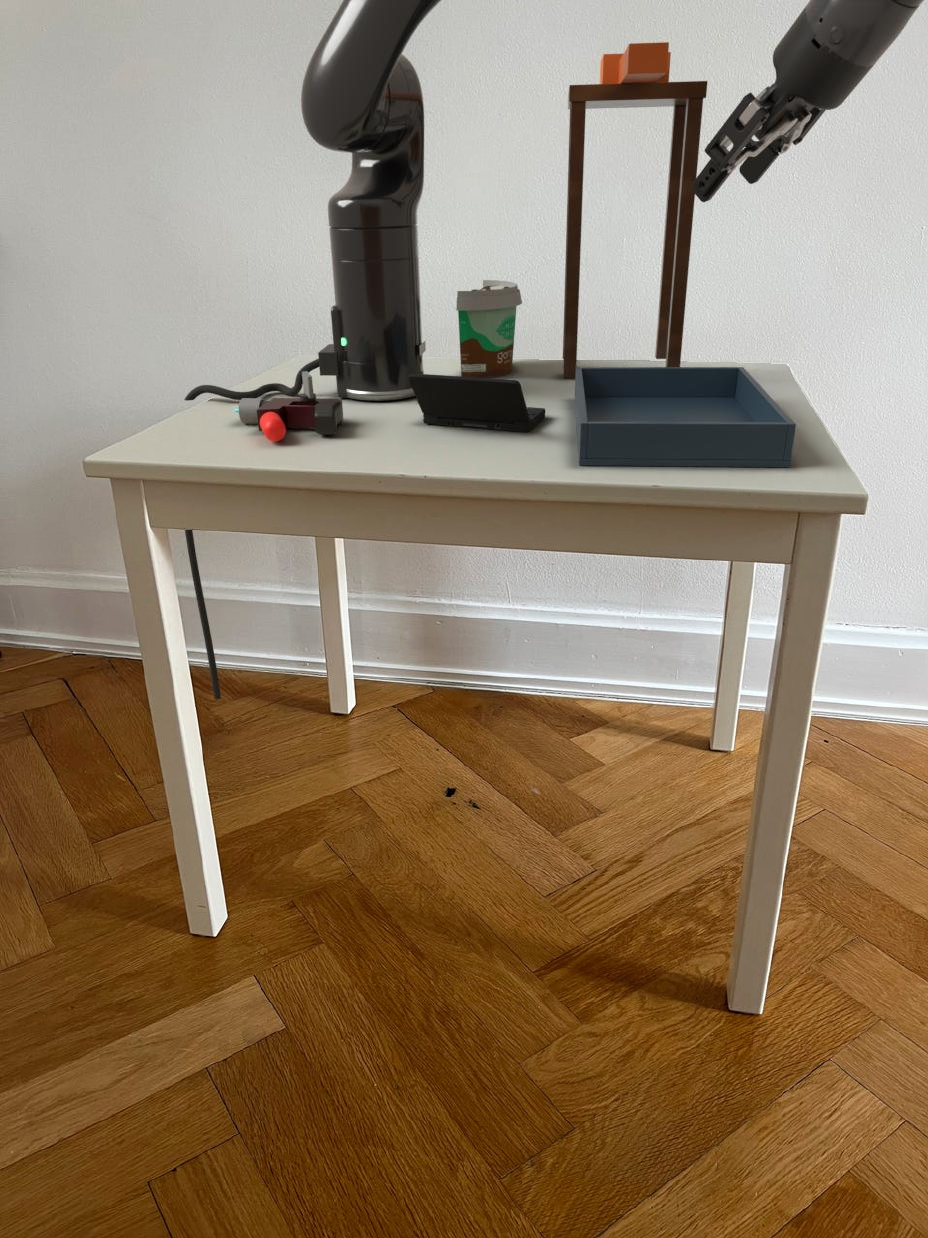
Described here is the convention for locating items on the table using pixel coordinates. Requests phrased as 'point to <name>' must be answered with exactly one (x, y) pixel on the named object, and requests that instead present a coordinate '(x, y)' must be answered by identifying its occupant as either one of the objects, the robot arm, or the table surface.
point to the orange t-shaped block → (637, 64)
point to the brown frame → (678, 203)
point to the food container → (487, 328)
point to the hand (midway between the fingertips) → (722, 185)
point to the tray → (678, 418)
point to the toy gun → (292, 412)
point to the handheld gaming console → (474, 402)
